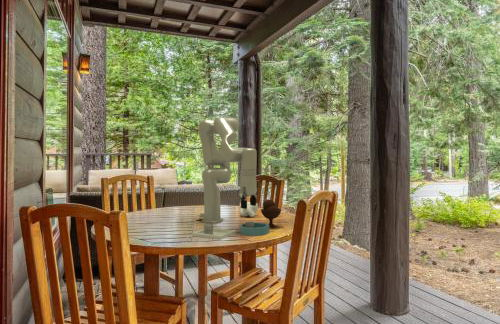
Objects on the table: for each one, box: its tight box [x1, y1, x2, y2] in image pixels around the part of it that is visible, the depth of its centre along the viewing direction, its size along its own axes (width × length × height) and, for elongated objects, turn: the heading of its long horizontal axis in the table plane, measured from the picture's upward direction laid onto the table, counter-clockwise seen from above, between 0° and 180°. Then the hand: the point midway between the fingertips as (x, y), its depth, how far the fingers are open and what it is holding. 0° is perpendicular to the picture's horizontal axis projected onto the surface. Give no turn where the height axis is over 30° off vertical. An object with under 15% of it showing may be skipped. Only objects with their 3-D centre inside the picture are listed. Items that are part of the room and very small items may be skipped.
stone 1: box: [203, 223, 214, 235], centre depth 175 cm, size 4×4×4 cm
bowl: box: [238, 221, 270, 237], centre depth 178 cm, size 14×14×4 cm
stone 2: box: [244, 220, 255, 228], centre depth 179 cm, size 4×4×4 cm
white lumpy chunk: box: [239, 201, 259, 218], centre depth 228 cm, size 11×12×9 cm
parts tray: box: [192, 227, 237, 240], centre depth 174 cm, size 16×14×2 cm
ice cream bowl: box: [260, 199, 282, 229], centre depth 193 cm, size 11×11×15 cm
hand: (248, 206), depth 180 cm, fingers open, 9 cm apart
